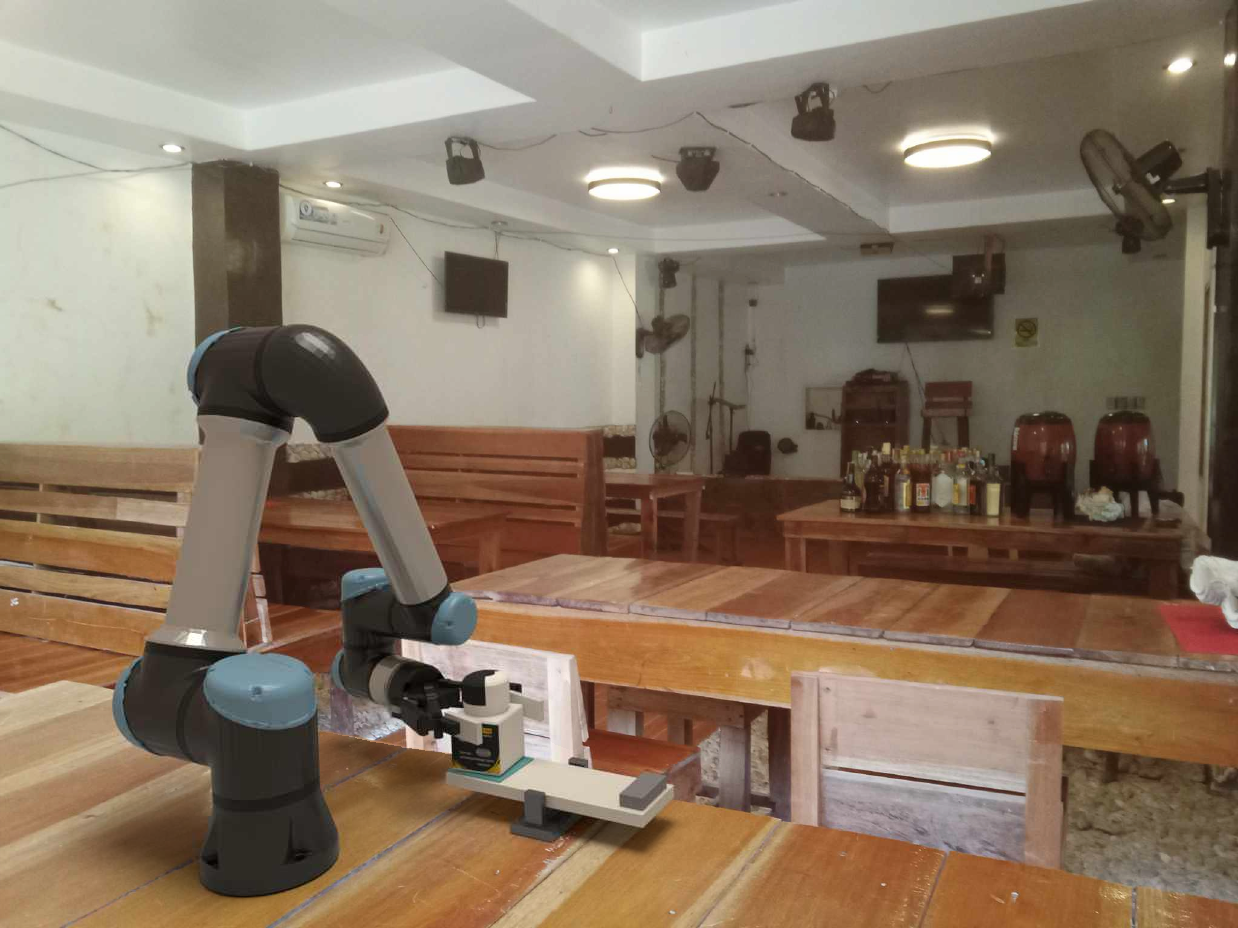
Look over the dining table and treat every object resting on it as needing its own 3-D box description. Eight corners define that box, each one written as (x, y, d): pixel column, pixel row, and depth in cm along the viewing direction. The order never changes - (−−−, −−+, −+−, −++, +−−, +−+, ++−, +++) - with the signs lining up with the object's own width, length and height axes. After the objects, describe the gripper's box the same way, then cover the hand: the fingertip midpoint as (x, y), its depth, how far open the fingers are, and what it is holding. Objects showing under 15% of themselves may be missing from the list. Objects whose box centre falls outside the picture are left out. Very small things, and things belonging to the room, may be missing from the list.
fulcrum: (603, 798, 125) (602, 760, 124) (552, 842, 113) (551, 800, 113) (563, 790, 127) (562, 752, 127) (510, 832, 116) (508, 791, 115)
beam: (673, 796, 118) (673, 773, 117) (642, 827, 110) (642, 802, 109) (486, 758, 130) (485, 737, 130) (446, 784, 122) (445, 761, 122)
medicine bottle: (451, 770, 123) (447, 679, 122) (479, 749, 129) (475, 663, 128) (500, 777, 120) (496, 684, 119) (526, 755, 127) (522, 667, 126)
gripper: (471, 692, 144) (574, 725, 129) (340, 734, 128) (441, 778, 113) (469, 643, 144) (573, 671, 129) (337, 680, 127) (438, 717, 112)
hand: (511, 721), depth 121 cm, fingers open, 10 cm apart
